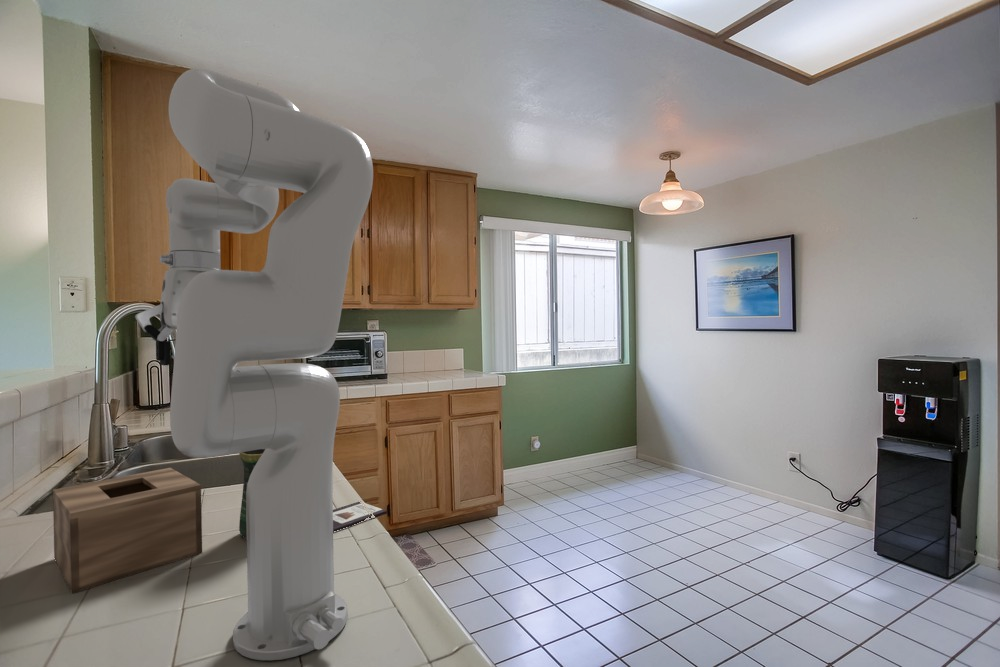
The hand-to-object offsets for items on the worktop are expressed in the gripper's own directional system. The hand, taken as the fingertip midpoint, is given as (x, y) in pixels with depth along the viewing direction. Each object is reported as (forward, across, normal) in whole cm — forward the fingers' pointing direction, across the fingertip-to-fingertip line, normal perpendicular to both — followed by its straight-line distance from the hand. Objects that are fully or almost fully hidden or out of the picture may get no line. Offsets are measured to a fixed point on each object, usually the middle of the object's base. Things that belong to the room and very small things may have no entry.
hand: (197, 363), depth 85 cm
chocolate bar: (+31, +18, -12) cm, 38 cm away
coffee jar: (+31, +9, -7) cm, 33 cm away
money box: (+30, -10, +1) cm, 32 cm away
